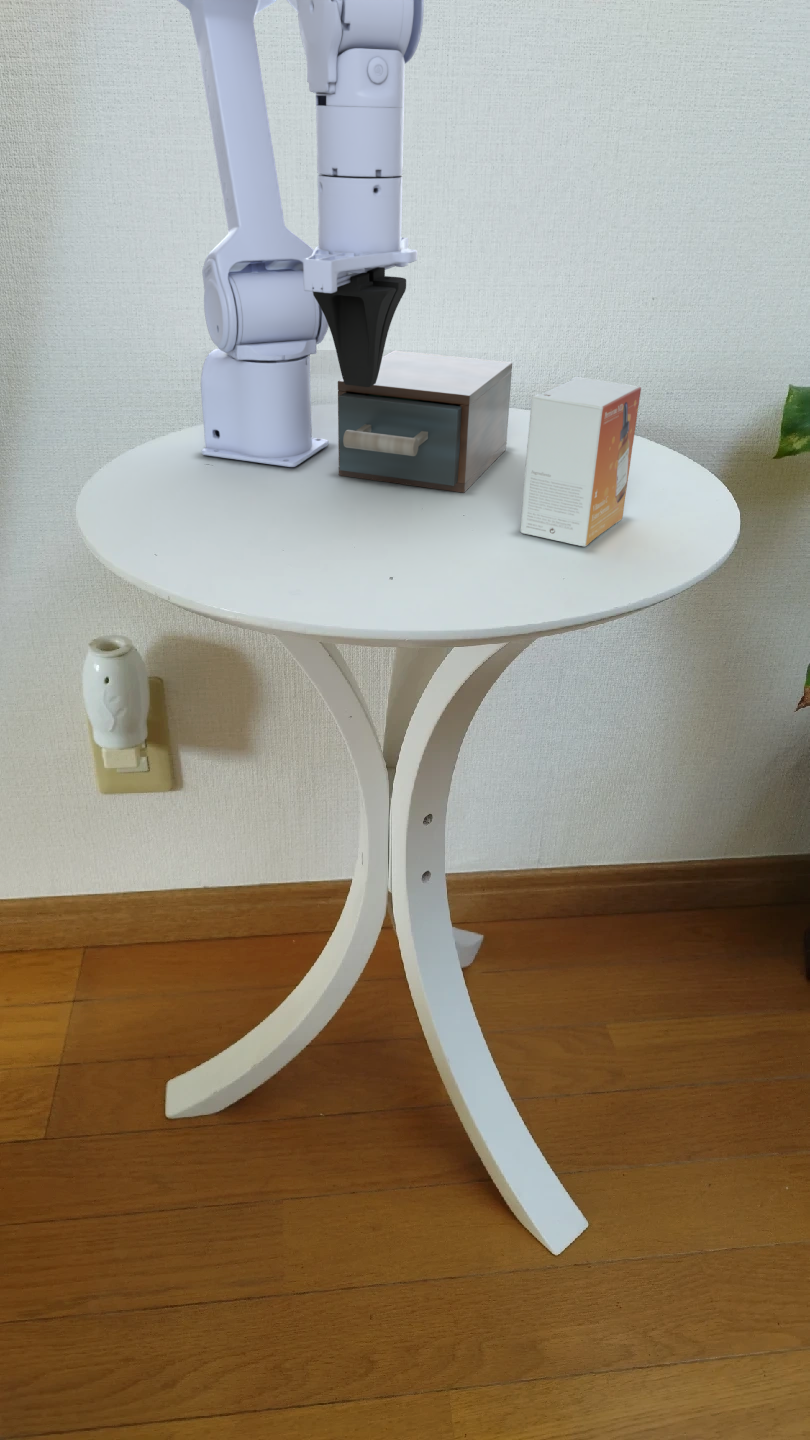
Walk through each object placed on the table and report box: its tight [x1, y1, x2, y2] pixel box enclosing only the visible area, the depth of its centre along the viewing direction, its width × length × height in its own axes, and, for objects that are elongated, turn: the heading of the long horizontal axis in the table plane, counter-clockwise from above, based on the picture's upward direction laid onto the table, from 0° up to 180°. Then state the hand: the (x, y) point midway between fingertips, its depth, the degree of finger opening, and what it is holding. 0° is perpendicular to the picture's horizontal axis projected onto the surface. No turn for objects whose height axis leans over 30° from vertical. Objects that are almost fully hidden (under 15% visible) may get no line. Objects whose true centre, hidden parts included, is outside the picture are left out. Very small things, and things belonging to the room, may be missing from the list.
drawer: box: [338, 393, 462, 486], centre depth 88 cm, size 17×10×6 cm, turn 160°
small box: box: [519, 376, 642, 547], centre depth 77 cm, size 8×6×10 cm
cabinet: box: [337, 349, 513, 493], centre depth 91 cm, size 14×12×8 cm
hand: (360, 384), depth 75 cm, fingers closed
